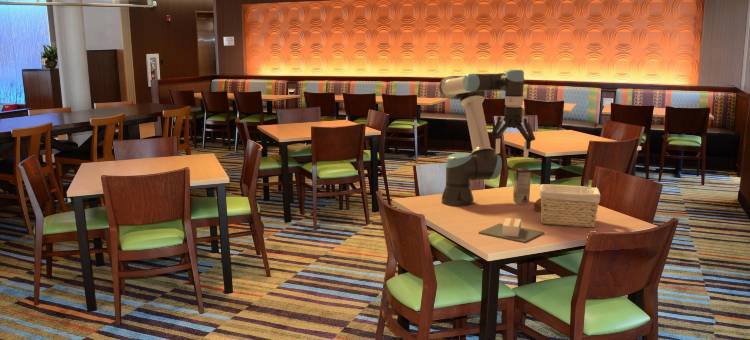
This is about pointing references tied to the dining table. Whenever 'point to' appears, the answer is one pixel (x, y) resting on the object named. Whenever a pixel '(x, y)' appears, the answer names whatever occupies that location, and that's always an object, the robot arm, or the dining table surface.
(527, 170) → the coffee box
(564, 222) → the storage basket
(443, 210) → the dining table surface
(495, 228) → the mat
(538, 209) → the bread roll
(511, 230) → the cream striped block
